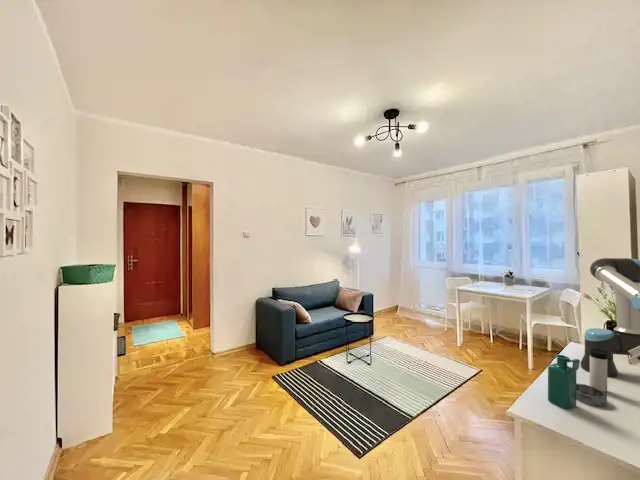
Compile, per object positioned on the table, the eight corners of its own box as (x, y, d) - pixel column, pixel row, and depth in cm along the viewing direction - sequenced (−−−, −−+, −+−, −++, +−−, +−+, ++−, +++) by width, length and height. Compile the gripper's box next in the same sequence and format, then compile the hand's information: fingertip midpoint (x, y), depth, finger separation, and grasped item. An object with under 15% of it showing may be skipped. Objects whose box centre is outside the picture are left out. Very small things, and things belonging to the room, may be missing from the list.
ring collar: (583, 390, 139) (583, 382, 139) (614, 405, 127) (614, 396, 127) (563, 393, 136) (563, 385, 136) (592, 408, 124) (592, 399, 124)
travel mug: (611, 394, 135) (611, 353, 135) (595, 392, 137) (595, 352, 137) (601, 387, 142) (601, 348, 141) (586, 386, 143) (586, 347, 143)
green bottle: (545, 400, 130) (546, 353, 130) (556, 396, 134) (556, 351, 133) (571, 412, 121) (571, 362, 121) (581, 407, 125) (582, 359, 124)
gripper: (697, 350, 109) (639, 374, 121) (689, 335, 126) (639, 357, 137) (676, 333, 113) (621, 358, 125) (671, 321, 130) (623, 344, 141)
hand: (630, 357), depth 131 cm, fingers open, 13 cm apart
